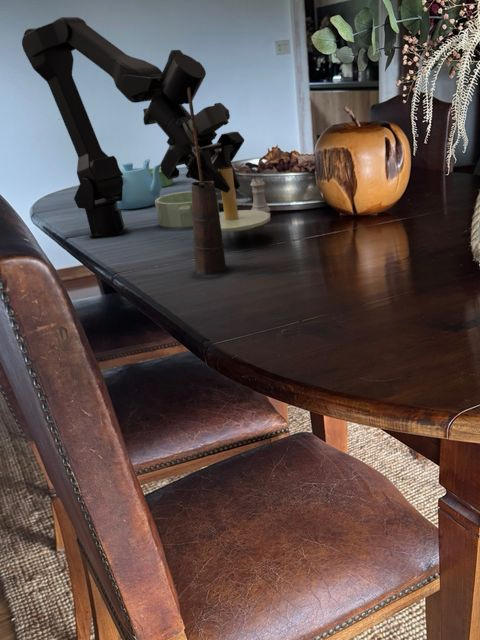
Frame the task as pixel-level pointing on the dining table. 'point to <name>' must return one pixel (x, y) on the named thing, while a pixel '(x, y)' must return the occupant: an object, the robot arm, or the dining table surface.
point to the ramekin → (162, 178)
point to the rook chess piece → (259, 196)
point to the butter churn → (205, 219)
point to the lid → (231, 215)
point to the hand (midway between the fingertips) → (233, 189)
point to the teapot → (139, 186)
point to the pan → (175, 209)
